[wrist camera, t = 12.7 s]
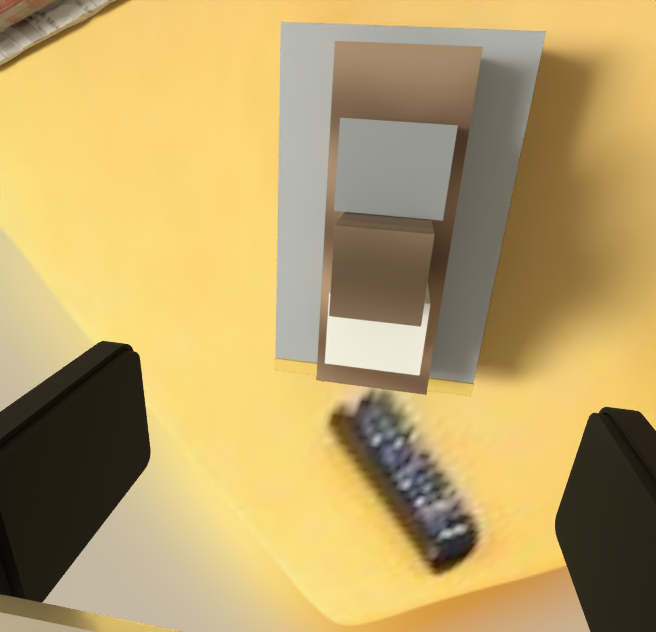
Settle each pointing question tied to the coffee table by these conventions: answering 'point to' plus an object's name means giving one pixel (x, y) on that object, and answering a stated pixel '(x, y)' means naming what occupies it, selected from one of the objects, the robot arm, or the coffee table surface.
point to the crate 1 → (394, 168)
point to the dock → (473, 202)
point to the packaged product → (39, 21)
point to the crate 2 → (376, 343)
